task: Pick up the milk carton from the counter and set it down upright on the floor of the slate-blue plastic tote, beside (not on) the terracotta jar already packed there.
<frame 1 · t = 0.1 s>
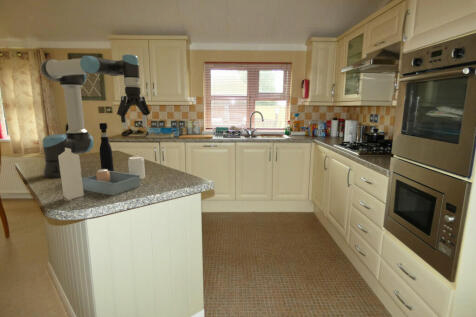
hand: (135, 128, 144), 28 cm above the countertop, fingers open, 13 cm apart
beverage can: (137, 179, 150), on the countertop
tote: (110, 188, 132), on the countertop
milk: (73, 197, 120), on the countertop
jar: (104, 185, 136), point 1 cm above the countertop, touching tote
wine bottle: (108, 175, 158), on the countertop
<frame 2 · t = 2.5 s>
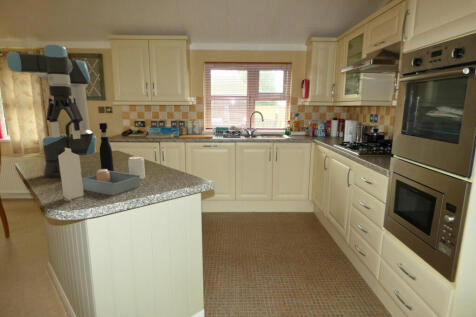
hand: (66, 138, 115), 26 cm above the countertop, fingers open, 13 cm apart
nothing on the countertop moved.
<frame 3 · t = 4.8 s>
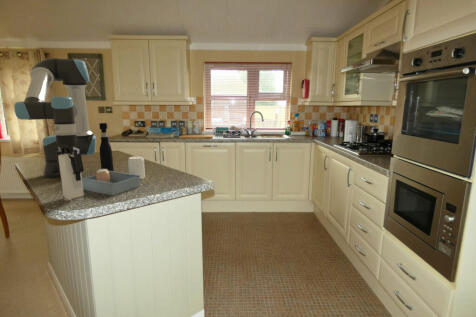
hand: (72, 186, 119), 5 cm above the countertop, fingers closed on milk, 7 cm apart
milk: (73, 197, 120), on the countertop, touching gripper
everything else where it was.
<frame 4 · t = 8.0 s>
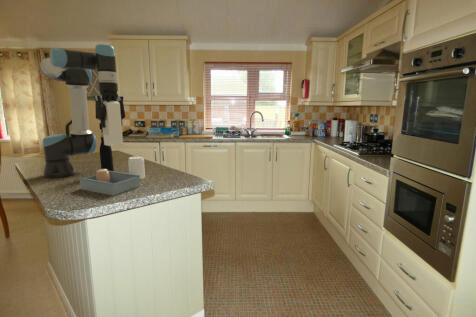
hand: (112, 134, 125), 27 cm above the countertop, fingers closed on milk, 7 cm apart
milk: (113, 145, 126), point 22 cm above the countertop, touching gripper
everything else where it was.
when the fingers open (7 cm above the countertop, at t = 11.4 s): milk drops 2 cm, resting on tote.
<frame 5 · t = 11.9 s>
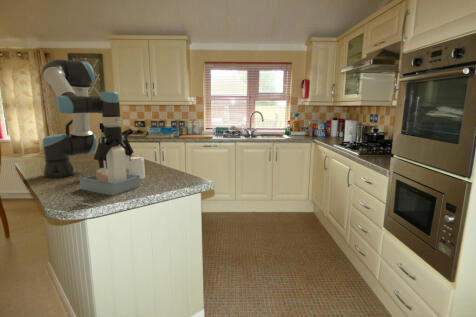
hand: (116, 171, 128), 9 cm above the countertop, fingers open, 13 cm apart
milk: (118, 189, 130), resting on tote
everything else where it was.
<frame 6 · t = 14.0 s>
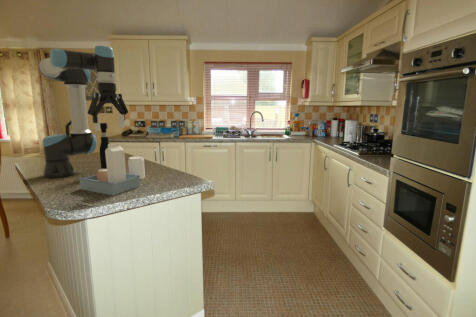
hand: (110, 129, 128), 29 cm above the countertop, fingers open, 13 cm apart
nothing on the countertop moved.
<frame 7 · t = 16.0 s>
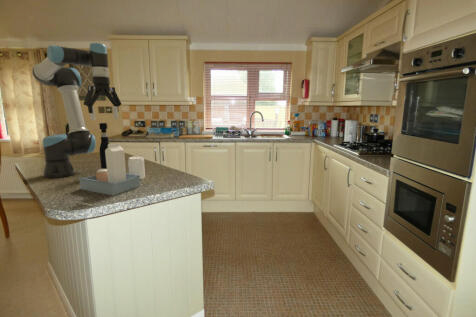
hand: (105, 119, 140), 33 cm above the countertop, fingers open, 13 cm apart
nothing on the countertop moved.
at the end: milk inside the target area on the tote (0.2 cm from its centre), point 0.4 cm above the tote's base; milk tilted 0°; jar moved 0.2 cm from its start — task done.
